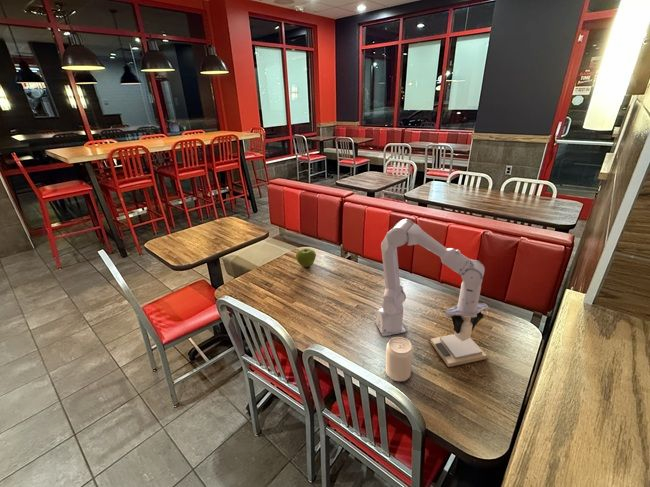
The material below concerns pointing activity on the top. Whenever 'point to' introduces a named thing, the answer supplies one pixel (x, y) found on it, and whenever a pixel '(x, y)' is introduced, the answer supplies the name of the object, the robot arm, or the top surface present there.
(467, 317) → the pepper shaker
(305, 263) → the apple
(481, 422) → the top surface
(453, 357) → the scale
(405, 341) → the beverage can
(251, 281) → the top surface
